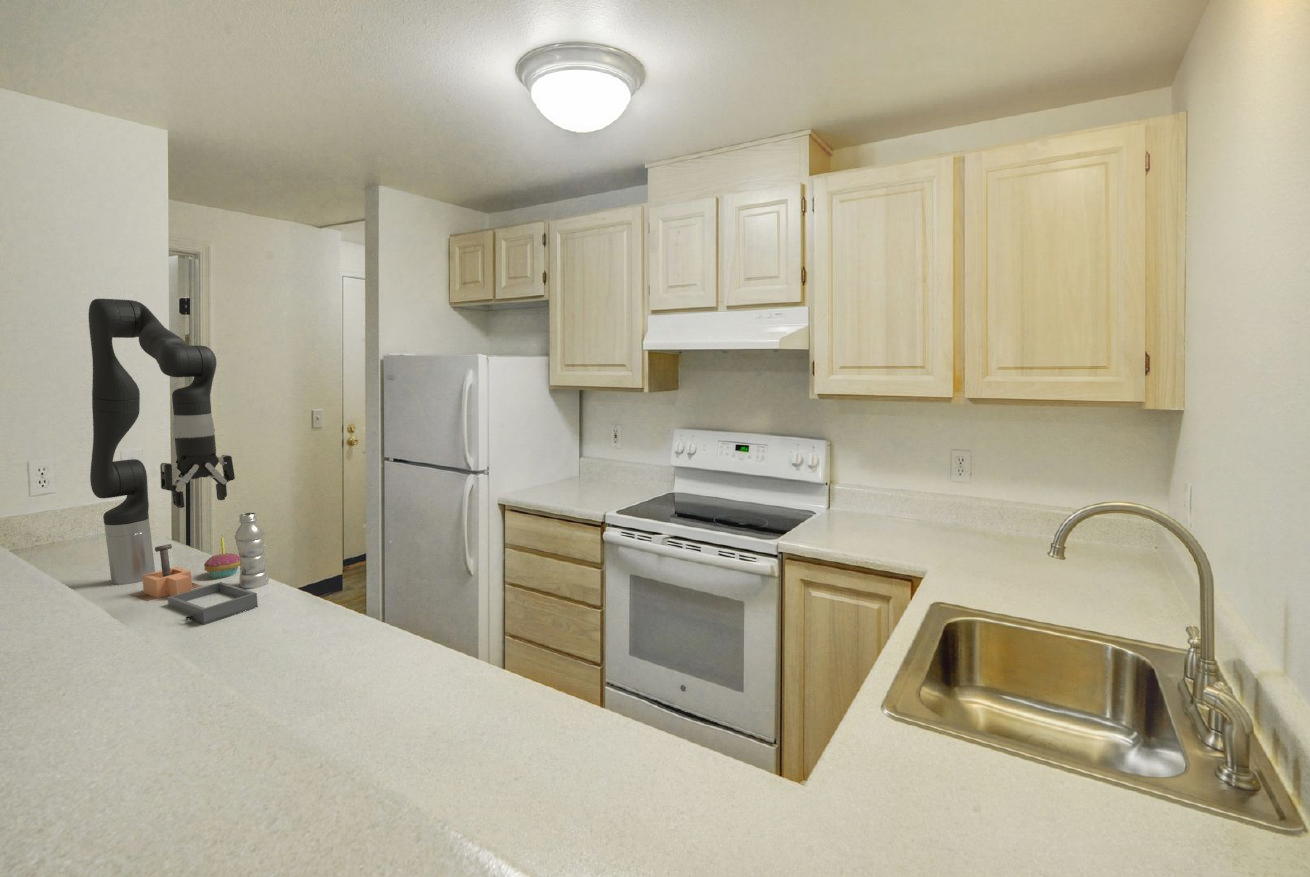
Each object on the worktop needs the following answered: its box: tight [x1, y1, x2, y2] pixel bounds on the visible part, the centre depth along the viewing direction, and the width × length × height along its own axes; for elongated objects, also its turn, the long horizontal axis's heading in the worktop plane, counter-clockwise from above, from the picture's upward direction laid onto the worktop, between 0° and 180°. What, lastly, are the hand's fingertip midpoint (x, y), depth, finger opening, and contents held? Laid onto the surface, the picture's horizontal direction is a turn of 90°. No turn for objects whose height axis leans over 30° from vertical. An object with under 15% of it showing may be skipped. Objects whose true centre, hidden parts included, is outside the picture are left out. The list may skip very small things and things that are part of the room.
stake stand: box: [131, 543, 203, 602], centre depth 164 cm, size 9×12×13 cm
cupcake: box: [203, 534, 240, 579], centre depth 176 cm, size 9×8×12 cm
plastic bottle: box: [234, 512, 270, 590], centre depth 167 cm, size 6×7×20 cm
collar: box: [142, 566, 193, 599], centre depth 163 cm, size 12×8×4 cm, turn 60°
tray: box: [166, 581, 259, 626], centre depth 155 cm, size 16×12×4 cm
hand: (201, 503), depth 151 cm, fingers open, 8 cm apart
